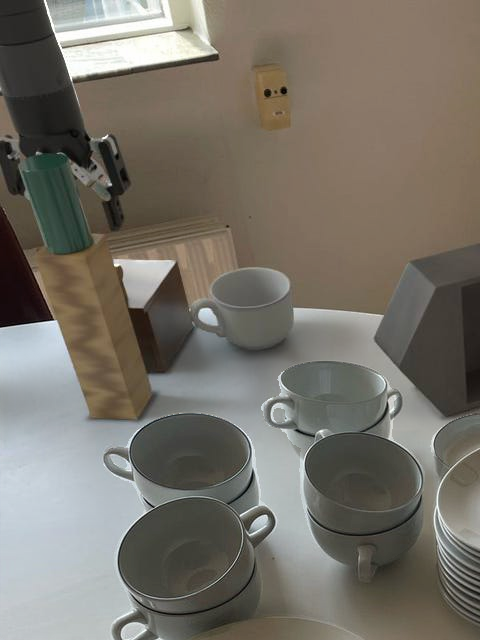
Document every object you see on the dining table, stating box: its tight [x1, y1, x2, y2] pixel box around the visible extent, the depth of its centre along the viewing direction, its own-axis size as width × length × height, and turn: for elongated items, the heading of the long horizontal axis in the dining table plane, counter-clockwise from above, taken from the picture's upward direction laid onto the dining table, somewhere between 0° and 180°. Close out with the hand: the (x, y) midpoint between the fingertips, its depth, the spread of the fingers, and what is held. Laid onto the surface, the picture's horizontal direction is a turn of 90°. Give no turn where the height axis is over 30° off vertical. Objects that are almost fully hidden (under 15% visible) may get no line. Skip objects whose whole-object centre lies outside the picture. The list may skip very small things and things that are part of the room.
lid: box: [113, 259, 179, 314], centre depth 131 cm, size 14×11×5 cm
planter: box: [373, 242, 480, 417], centre depth 123 cm, size 17×8×21 cm
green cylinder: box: [18, 153, 94, 255], centre depth 111 cm, size 5×5×9 cm
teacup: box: [189, 266, 295, 351], centre depth 137 cm, size 14×11×8 cm
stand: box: [33, 233, 154, 420], centre depth 121 cm, size 6×6×21 cm
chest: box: [129, 266, 195, 374], centre depth 136 cm, size 13×11×9 cm
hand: (83, 228), depth 122 cm, fingers open, 8 cm apart
